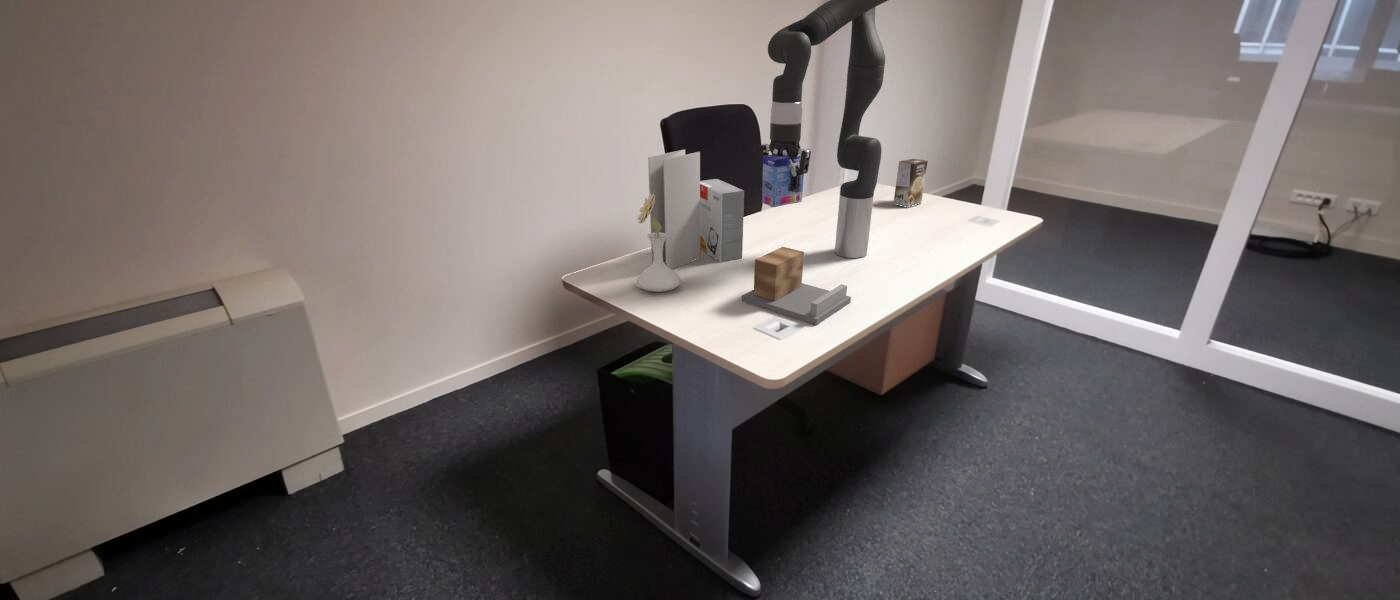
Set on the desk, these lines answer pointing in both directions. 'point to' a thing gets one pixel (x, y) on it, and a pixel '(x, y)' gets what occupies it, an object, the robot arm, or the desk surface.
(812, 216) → the desk surface
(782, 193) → the ink cartridge box
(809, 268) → the desk surface
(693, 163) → the brochure
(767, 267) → the cardboard box
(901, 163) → the coffee box
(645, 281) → the flower in vase
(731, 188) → the hard drive box
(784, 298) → the shelf board
